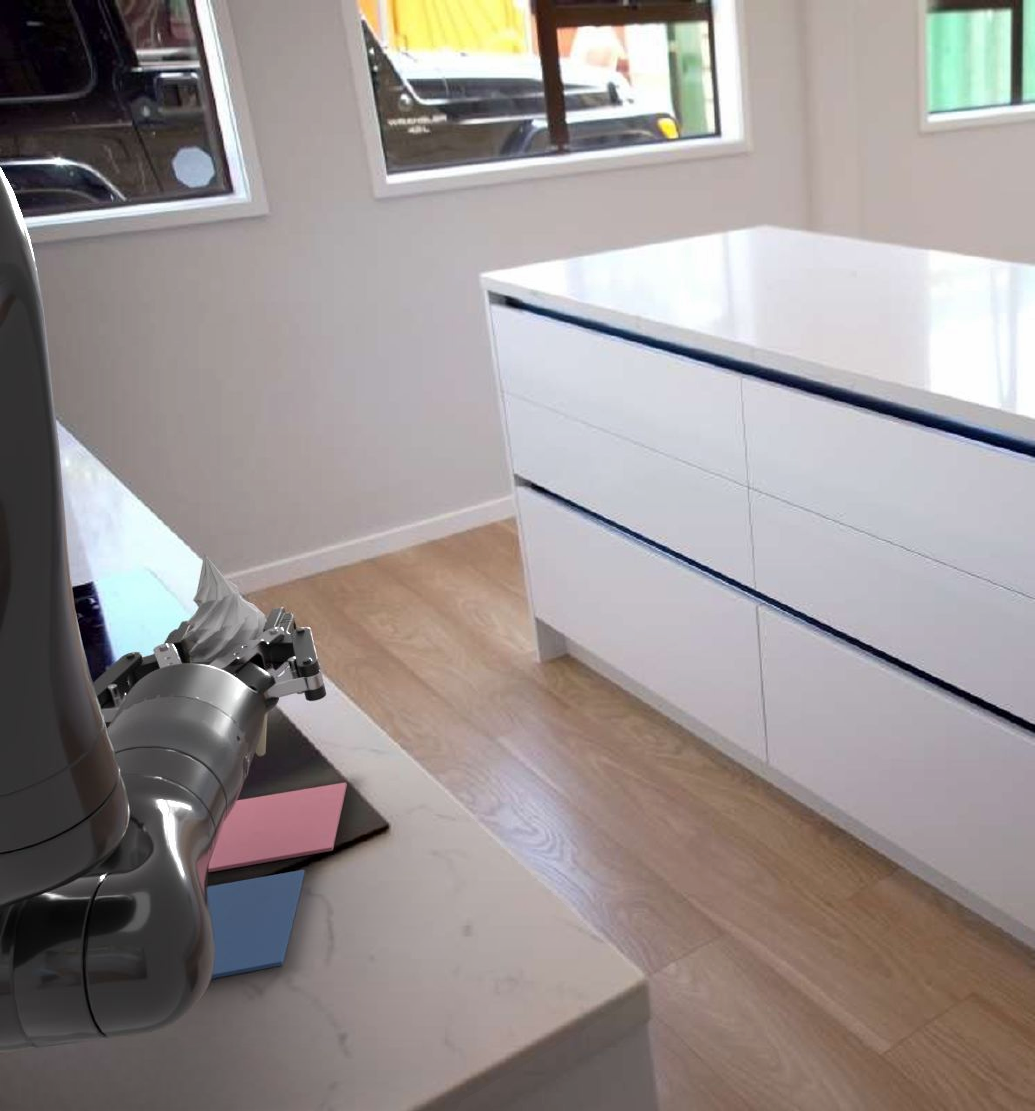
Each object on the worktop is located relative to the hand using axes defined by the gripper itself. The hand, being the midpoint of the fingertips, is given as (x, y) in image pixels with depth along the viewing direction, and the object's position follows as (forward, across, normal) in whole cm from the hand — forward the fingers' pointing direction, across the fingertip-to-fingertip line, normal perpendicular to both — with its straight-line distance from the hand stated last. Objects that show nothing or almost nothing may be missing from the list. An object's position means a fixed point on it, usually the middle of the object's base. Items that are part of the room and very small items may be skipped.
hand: (237, 627), depth 85 cm
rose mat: (-2, 0, +15) cm, 15 cm away
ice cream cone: (-3, 0, +9) cm, 9 cm away
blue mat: (-13, +3, +15) cm, 20 cm away
